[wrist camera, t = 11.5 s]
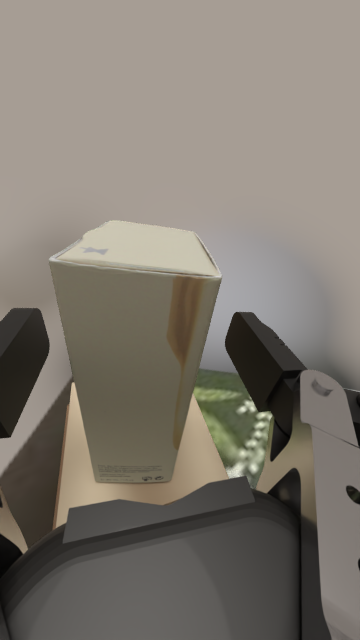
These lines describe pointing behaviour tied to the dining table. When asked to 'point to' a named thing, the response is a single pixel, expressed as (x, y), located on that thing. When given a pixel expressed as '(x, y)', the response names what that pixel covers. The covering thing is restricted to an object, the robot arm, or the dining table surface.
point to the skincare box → (135, 340)
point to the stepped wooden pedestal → (81, 488)
